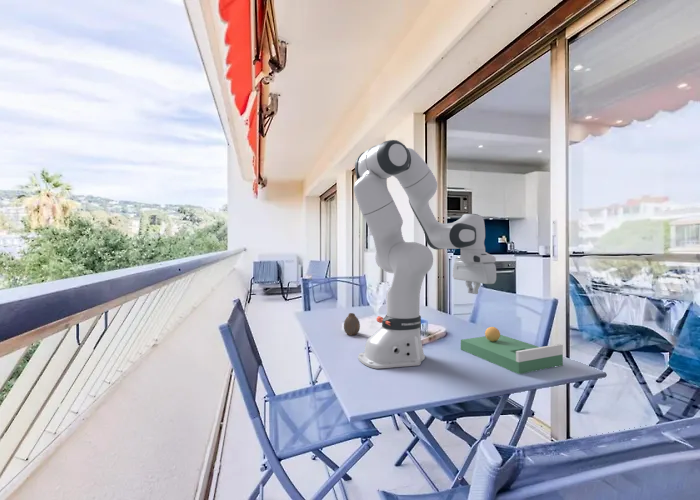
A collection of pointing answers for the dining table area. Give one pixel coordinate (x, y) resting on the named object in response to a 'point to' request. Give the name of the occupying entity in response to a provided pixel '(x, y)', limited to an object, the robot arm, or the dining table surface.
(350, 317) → the vase
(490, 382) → the dining table surface
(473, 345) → the green
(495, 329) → the ball
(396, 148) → the robot arm
